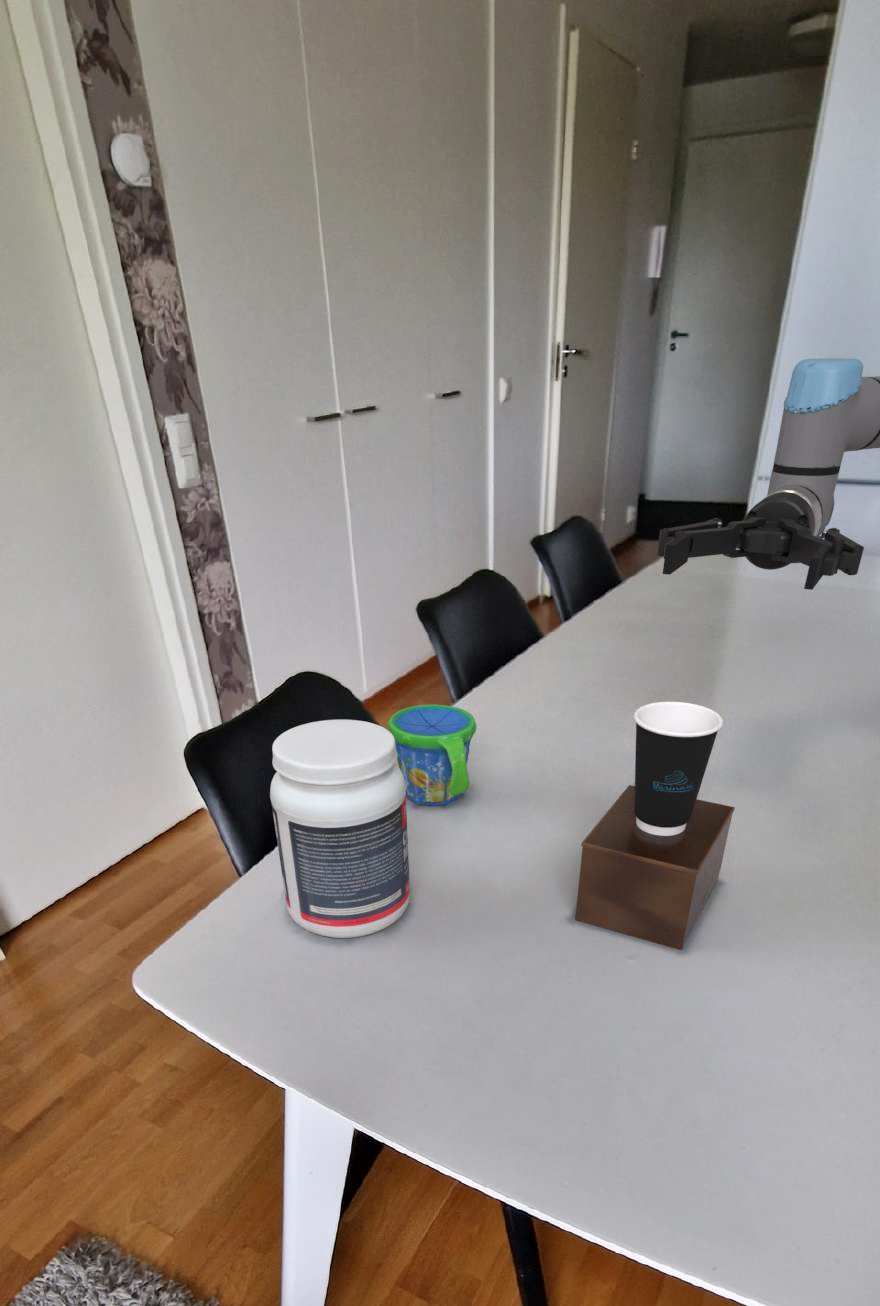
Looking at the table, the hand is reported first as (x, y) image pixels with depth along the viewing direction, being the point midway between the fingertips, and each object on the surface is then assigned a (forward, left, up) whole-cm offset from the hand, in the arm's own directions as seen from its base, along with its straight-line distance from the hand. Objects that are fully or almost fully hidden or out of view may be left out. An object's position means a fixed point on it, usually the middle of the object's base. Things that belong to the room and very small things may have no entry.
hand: (737, 566), depth 81 cm
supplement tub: (+27, +31, -30) cm, 51 cm away
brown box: (0, +15, -30) cm, 33 cm away
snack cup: (+32, +4, -30) cm, 44 cm away
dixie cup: (0, +15, -21) cm, 26 cm away
